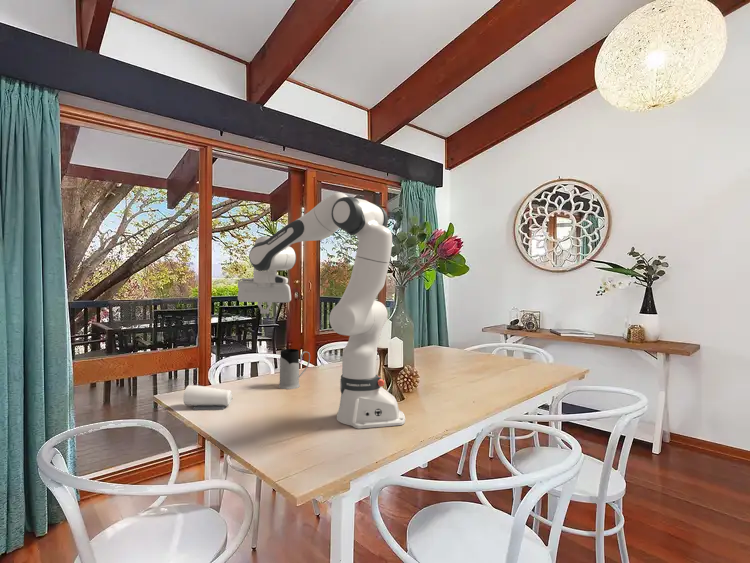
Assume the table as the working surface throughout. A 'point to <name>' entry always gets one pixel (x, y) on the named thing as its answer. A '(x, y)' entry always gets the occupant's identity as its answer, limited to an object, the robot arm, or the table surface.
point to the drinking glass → (206, 396)
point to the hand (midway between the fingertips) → (264, 313)
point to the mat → (209, 407)
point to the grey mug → (290, 368)
